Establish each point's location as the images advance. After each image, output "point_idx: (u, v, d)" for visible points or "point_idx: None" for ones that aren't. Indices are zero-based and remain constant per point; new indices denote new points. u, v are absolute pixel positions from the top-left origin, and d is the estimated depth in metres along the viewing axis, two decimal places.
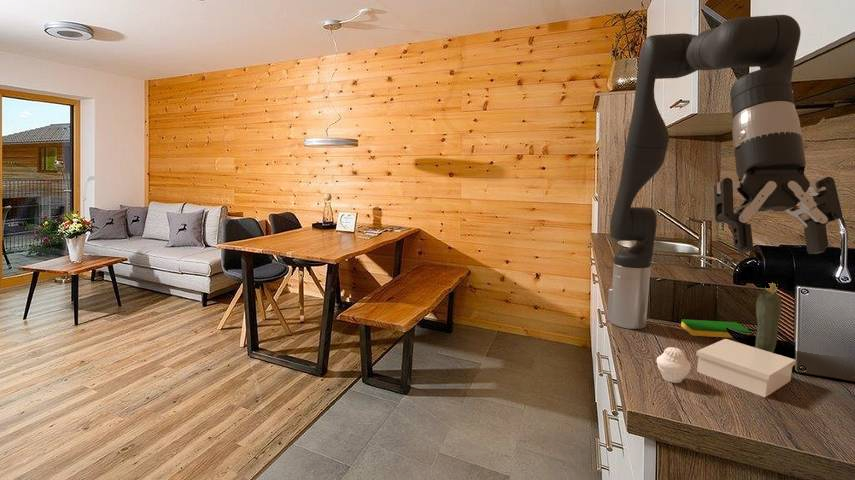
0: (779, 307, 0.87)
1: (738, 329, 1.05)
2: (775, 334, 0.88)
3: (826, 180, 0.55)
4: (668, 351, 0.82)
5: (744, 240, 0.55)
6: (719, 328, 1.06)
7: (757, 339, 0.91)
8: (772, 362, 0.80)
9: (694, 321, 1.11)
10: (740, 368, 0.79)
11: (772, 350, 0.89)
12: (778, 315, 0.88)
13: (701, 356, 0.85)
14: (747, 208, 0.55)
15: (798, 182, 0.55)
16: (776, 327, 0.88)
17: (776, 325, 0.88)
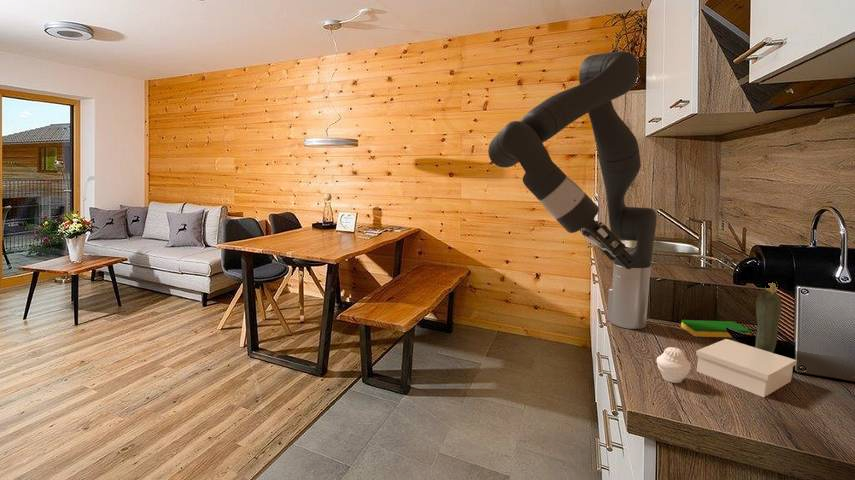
0: (779, 307, 0.87)
1: (738, 328, 1.05)
2: (775, 334, 0.88)
3: None
4: (668, 351, 0.82)
5: None
6: (720, 328, 1.05)
7: (757, 339, 0.91)
8: (772, 362, 0.80)
9: (694, 321, 1.11)
10: (739, 368, 0.79)
11: (772, 350, 0.89)
12: (778, 315, 0.88)
13: (701, 356, 0.86)
14: None
15: (590, 233, 0.78)
16: (776, 327, 0.88)
17: (776, 325, 0.88)
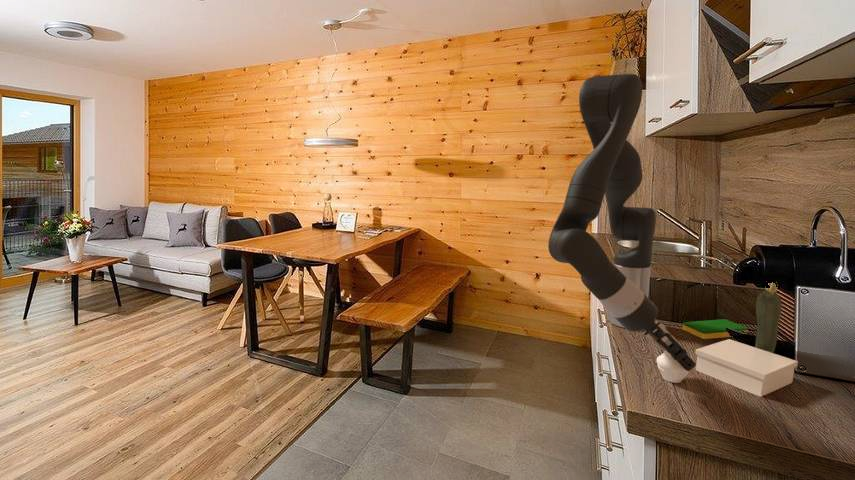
0: (779, 307, 0.87)
1: (737, 327, 1.07)
2: (775, 334, 0.88)
3: (658, 342, 0.77)
4: None
5: None
6: (723, 328, 1.05)
7: (757, 339, 0.91)
8: (772, 363, 0.80)
9: (695, 323, 1.09)
10: (737, 367, 0.80)
11: (772, 350, 0.89)
12: (778, 315, 0.88)
13: (700, 355, 0.86)
14: None
15: (649, 333, 0.80)
16: (776, 327, 0.88)
17: (776, 325, 0.88)
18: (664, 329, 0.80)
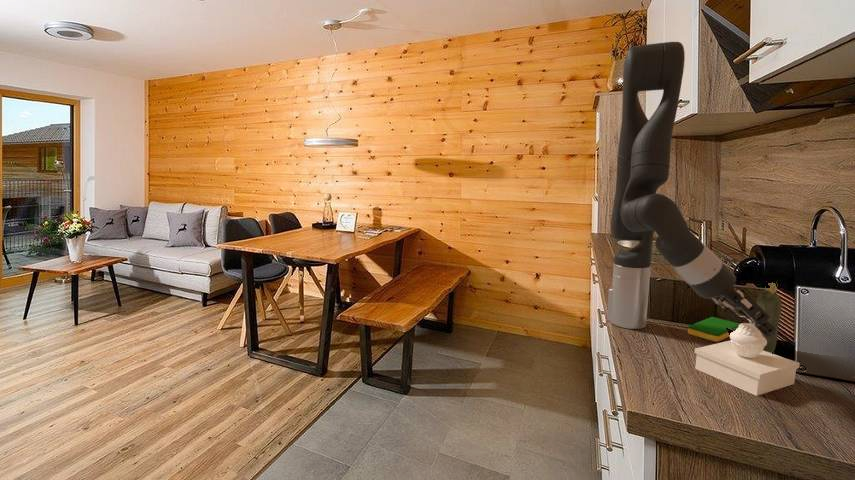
0: (779, 307, 0.87)
1: (732, 324, 1.08)
2: (775, 334, 0.88)
3: (737, 305, 0.77)
4: (744, 325, 0.83)
5: None
6: None
7: None
8: (771, 363, 0.80)
9: (699, 325, 1.08)
10: (734, 366, 0.80)
11: (772, 350, 0.89)
12: (778, 315, 0.88)
13: (699, 354, 0.87)
14: None
15: (727, 300, 0.80)
16: (776, 327, 0.88)
17: (776, 325, 0.88)
18: (741, 294, 0.80)
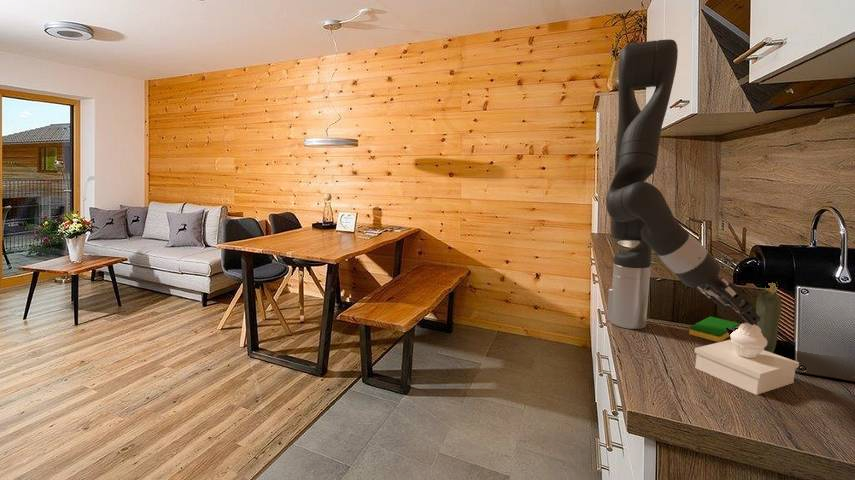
0: (779, 307, 0.87)
1: (731, 324, 1.09)
2: (775, 334, 0.88)
3: (721, 293, 0.77)
4: (744, 326, 0.83)
5: None
6: None
7: None
8: (771, 363, 0.81)
9: (699, 326, 1.07)
10: (734, 366, 0.80)
11: (772, 350, 0.89)
12: (778, 315, 0.88)
13: (699, 353, 0.87)
14: None
15: (712, 288, 0.80)
16: (776, 327, 0.88)
17: (776, 325, 0.88)
18: (726, 283, 0.80)
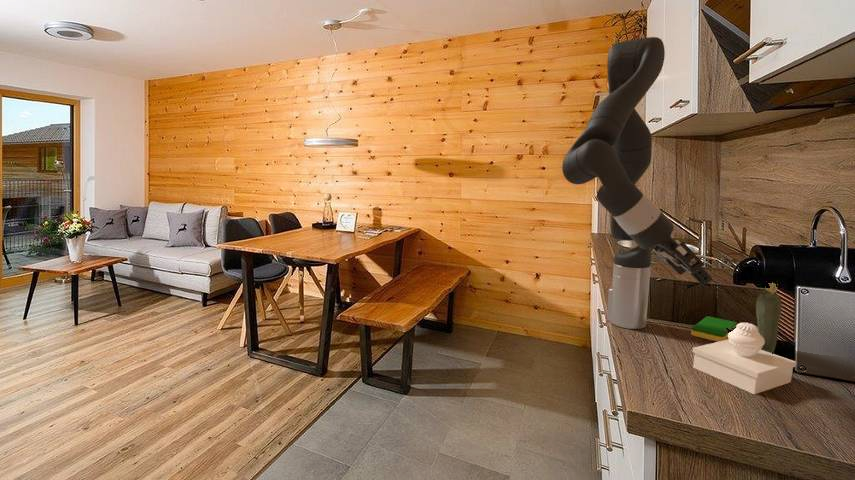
0: (779, 307, 0.87)
1: (730, 323, 1.09)
2: (775, 334, 0.88)
3: (672, 252, 0.76)
4: (741, 326, 0.84)
5: None
6: None
7: None
8: (768, 362, 0.81)
9: (701, 326, 1.07)
10: (731, 365, 0.81)
11: (772, 350, 0.89)
12: (778, 315, 0.88)
13: (697, 353, 0.87)
14: None
15: (665, 249, 0.80)
16: (776, 327, 0.88)
17: (776, 325, 0.88)
18: (679, 244, 0.79)
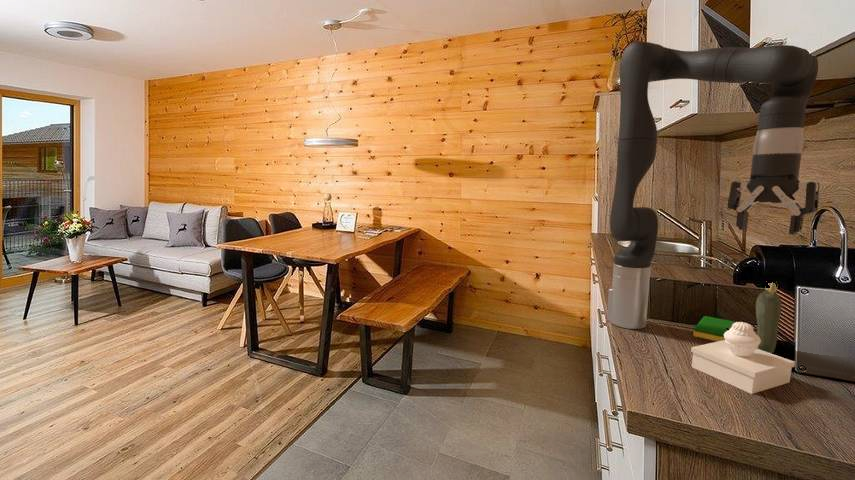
0: (779, 307, 0.87)
1: (728, 322, 1.10)
2: (775, 334, 0.88)
3: (808, 184, 0.77)
4: (736, 326, 0.84)
5: (739, 223, 0.87)
6: (727, 327, 1.06)
7: None
8: (766, 362, 0.81)
9: (702, 327, 1.07)
10: (729, 365, 0.81)
11: (772, 350, 0.89)
12: (778, 315, 0.88)
13: (695, 352, 0.87)
14: (743, 202, 0.86)
15: (786, 185, 0.79)
16: (776, 327, 0.88)
17: (776, 325, 0.88)
18: None
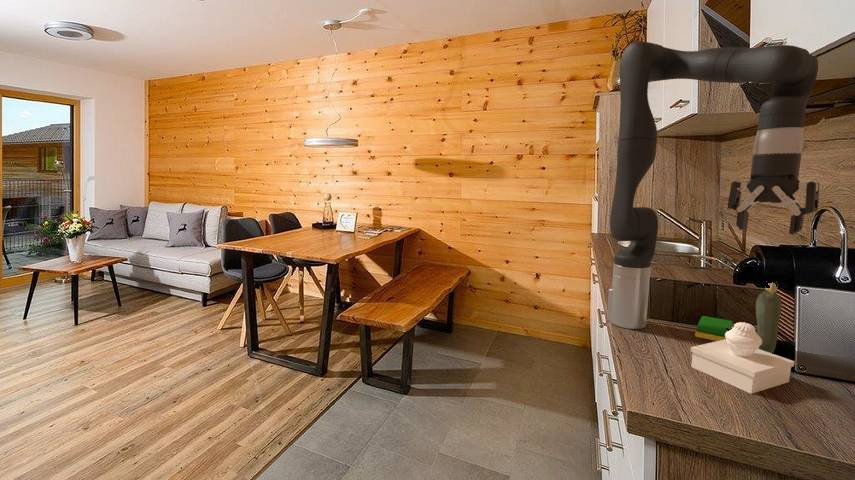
0: (779, 307, 0.87)
1: (727, 322, 1.10)
2: (775, 334, 0.88)
3: (808, 184, 0.77)
4: (739, 326, 0.83)
5: (740, 223, 0.87)
6: (727, 327, 1.06)
7: None
8: (766, 362, 0.81)
9: (703, 327, 1.06)
10: (729, 365, 0.81)
11: (772, 350, 0.89)
12: (778, 315, 0.88)
13: (695, 352, 0.88)
14: (743, 202, 0.86)
15: (786, 185, 0.80)
16: (776, 327, 0.88)
17: (776, 325, 0.88)
18: None
